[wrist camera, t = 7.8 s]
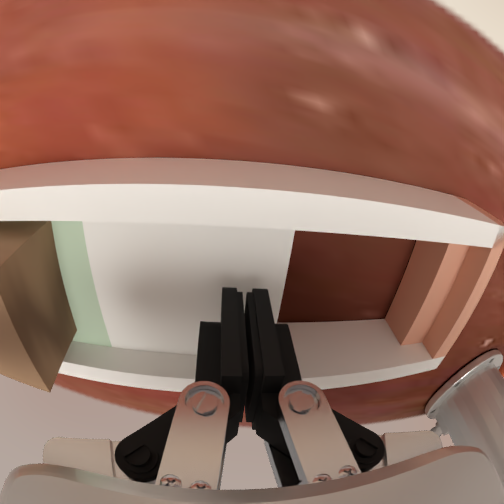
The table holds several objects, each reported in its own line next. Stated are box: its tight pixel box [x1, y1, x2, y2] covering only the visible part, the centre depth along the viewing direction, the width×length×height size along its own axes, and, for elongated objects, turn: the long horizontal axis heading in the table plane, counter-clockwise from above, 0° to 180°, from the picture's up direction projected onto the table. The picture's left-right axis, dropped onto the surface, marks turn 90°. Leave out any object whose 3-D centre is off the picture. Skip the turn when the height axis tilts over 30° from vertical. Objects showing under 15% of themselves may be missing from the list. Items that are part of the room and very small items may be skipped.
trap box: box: [0, 158, 504, 392], centre depth 12 cm, size 10×28×4 cm, turn 84°
